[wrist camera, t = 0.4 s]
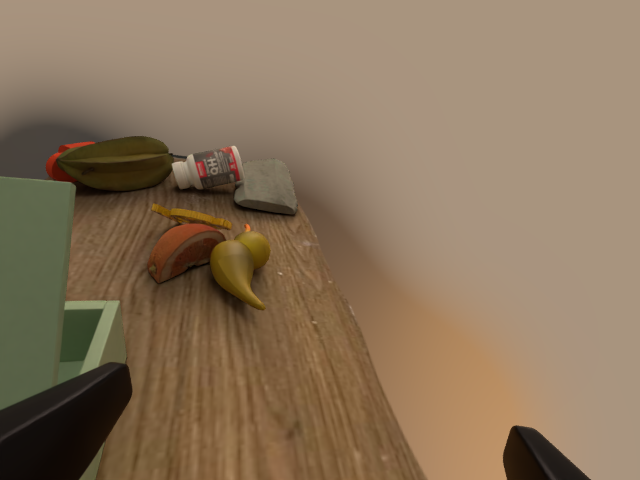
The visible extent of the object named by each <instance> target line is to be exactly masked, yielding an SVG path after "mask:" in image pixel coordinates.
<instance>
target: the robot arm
mask: <svg viewBox="0 0 640 480" xmlns="http://www.w3.org/2000/svg"><path fill="white" fill-rule="evenodd" d="M131 396H132V384H131V378H130V372H129V367H128V366H127V365H126V364H123V363H117V362H108V363H106V364H104V365H101V366H99V367H97V368H95V369H92V370H90V371H88V372H85V373H83V374H81V375H79V376H76V377H74V378H72V379H70V380H67V381H65V382H63V383H60V384H58V385H56V386H54V387H51V388H49V389H47V390H45V391H42V392H40V393H38V394H35V395H33V396H31V397H29V398H26V399H24V400H22V401H20V402H17V403H15V404H13V405H10V406H8V407H6V408H4V409H1V410H0V480H79V479H80V478H81V477H82V475H83V474H84V472H85V471H86V470H87V468H88V467H89V465H90V464H91V462H92V461H93V459H94V458H95V456H96V455H97V453H98V451H99V450H100V448H101V446H102V445H103V443H104V442H105V440H106V438H107V437H108V435H109V433H110V432H111V430H112V429H113V427H114V425H115V424H116V422H117V420H118V419H119V417H120V416H121V414H122V412H123V411H124V409H125V407H126V406H127V404H128V402H129V401H130V398H131ZM503 463H504V468H505V472H506V477H507V480H591V479H589V478H588V477H587V476H586V475H585V474H584V473H583V472H582V471H581V470H580V469H579V468H577V467H576V466H575V465H574V464H573V463H572V462H571V461H570V460H569V459H568V458H567V457H565V456H564V455H563V454H562V453H561V452H560V451H559V450H558V449H557V448H556V447H555V446H553V445H552V444H551V443H550V442H549V441H548V440H547V439H546V438H545V437H544V436H543V435H542V434H540V433H539V432H538V431H537V430H535V429H533V428H529V427H523V426H513V427H512V428H511V430H510V433H509V436H508V439H507V443H506V446H505V449H504V453H503Z"/></svg>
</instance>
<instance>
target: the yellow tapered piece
mask: <svg viewBox="0 0 640 480" xmlns="http://www.w3.org/2000/svg"><path fill="white" fill-rule="evenodd" d="M244 226H245V228H246V231H245V232H243V233H241V234H239V235H237V236H236V237H235V239H234V240H227V241H224V242H221V243H219V244H218V245H216V246H215V248H214V249H213V251H212V253H211V257H210V267H211V271H212V274H213V276H214V278H215V280H216V281H217V283H218V284H219V285H220V286H221V287H222V288H223V289H225V290H226V291H227V292H229V293H231V294H232V295H234V296H236V297H237V298H239V299H241V300H242V301H244V302H245V303H247V304H249V305H250V306H252V307H254V308H256V309H258V310H265V309H266V308H265V306H264V304H263V303H262V302H261V301H260V300H259V299H258V298H257V297H256V295H255V294H254V293H253V291H252V290H251V286H250V283H251V280H252V276H253V270H254V269H258V268H260V267H262V266H263V265H265V264H266V262H267V261H268V259H269V256H270V251H271V250H270V245H269V242H268V241H267V239H266V238H265V237H264V236H263V235H262V234H259V233H257V232H253V231H250V226H249V225H247V224H245V225H244Z"/></svg>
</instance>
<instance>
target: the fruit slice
mask: <svg viewBox="0 0 640 480" xmlns="http://www.w3.org/2000/svg"><path fill="white" fill-rule="evenodd" d="M224 241H226V239H225V237H224V235H223V234H222V233H221V232H219V231H218V230H216V229H215V228H213V227H210V226H207V225H203V224H184V225H180V226H176V227H174V228H172V229H170V230H168V231H167V232H166V233H165V234H164V235H163V236H162V237H161V238H160V239H159V241H158V242H157V244H156V245H155V247H154V249H153V251H152V253H151V255H150V258H149V261H148V264H147V266H148V271H149V273H150V274H151V276H152V277H154V279H155V280H156V281H157V282H158V283H161V282H163V281H165V280H169V278H173V277H174V276H176V275H179V274H180V273H183V272H184V271H185V270H186V269H188V266H190V267H191V265H197V266H198V265H202V264H205V263H208V262H209V261H210V257H211V253H212V251H213V249H214V248H215V246H216V245H218V244H219V243H221V242H224Z"/></svg>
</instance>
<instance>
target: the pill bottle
mask: <svg viewBox="0 0 640 480" xmlns="http://www.w3.org/2000/svg"><path fill="white" fill-rule="evenodd" d="M172 168H173V172H174V175H175V178H176V181H177V184H178V186H179V188H180V189H185V188H188V187H190V186H191V185H193V186H195V187H196V188H197V189H200V190H201V189H206V188H210V187H214V186H219V185H223V184H228V183H232V182H237V181H241V180H243V179H244V171H243V167H242V163H241V159H240V155H239V153H238V150H237V148H236V147H235V146H232V147H227V148H221V149H216V150H211V151H206V152H201V153H195V154H191V155H189V156H188V157H187V161H186V162H184V163H182V161H181V162H175V163H172Z"/></svg>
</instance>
